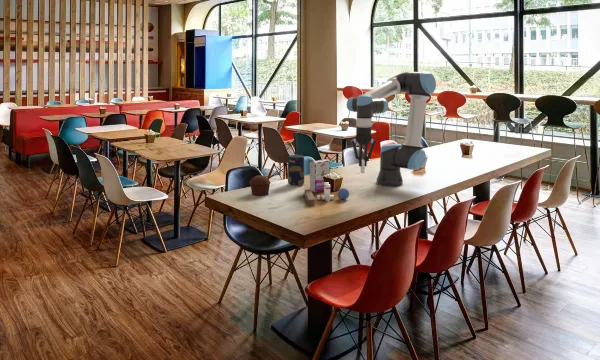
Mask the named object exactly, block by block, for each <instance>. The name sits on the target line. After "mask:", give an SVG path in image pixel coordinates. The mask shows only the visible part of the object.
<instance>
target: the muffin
mask: <svg viewBox="0 0 600 360" xmlns="http://www.w3.org/2000/svg"><path fill="white" fill-rule="evenodd" d="M270 184H272V183H271V181H270V180H269V178H268V177H267V176H265V175H261V174H260V175H256V176H254V177H252V178H251V179H250V180H249V185H250V189H251V196H254V197H266V196H269V192H270V186H271V185H270Z"/></svg>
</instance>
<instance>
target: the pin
mask: <svg viewBox="0 0 600 360" xmlns="http://www.w3.org/2000/svg"><path fill="white" fill-rule="evenodd" d="M330 195H331V183H330V184H326V187H325V202H331V200H330Z"/></svg>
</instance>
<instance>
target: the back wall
mask: <svg viewBox="0 0 600 360" xmlns="http://www.w3.org/2000/svg"><path fill="white" fill-rule="evenodd" d="M304 197H305V200H306V203H307V205H308V206H309V207H310V206H316V199H315V196H314V194H313V191H311V190H310V188H309V189H307V188H306V189H304Z"/></svg>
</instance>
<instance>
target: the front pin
mask: <svg viewBox="0 0 600 360" xmlns="http://www.w3.org/2000/svg"><path fill="white" fill-rule="evenodd" d="M316 199H317V200H318V201H321V200H322V201H324V200H325V195H324V194H317V195H316ZM331 200H332V201H333V200H335V194H330V201H331Z"/></svg>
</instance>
